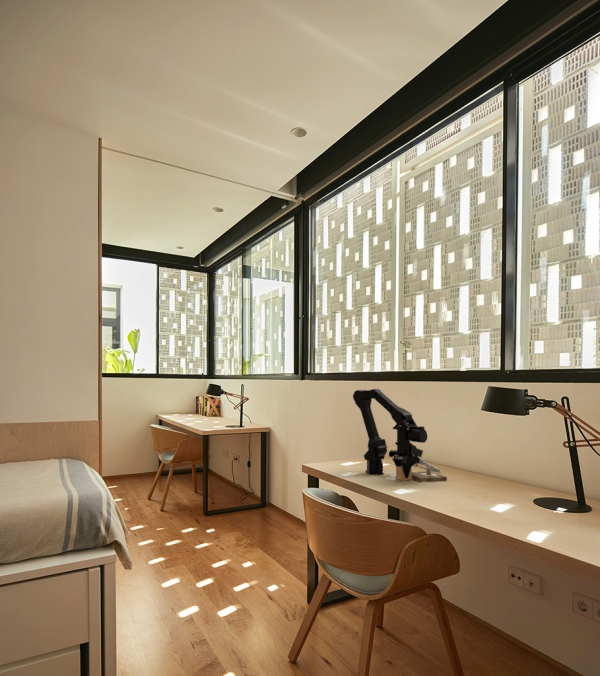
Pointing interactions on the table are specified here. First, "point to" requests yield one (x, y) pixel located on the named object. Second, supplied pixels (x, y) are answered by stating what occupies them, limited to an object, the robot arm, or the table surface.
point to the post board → (427, 475)
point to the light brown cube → (402, 473)
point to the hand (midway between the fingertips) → (403, 476)
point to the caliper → (428, 464)
